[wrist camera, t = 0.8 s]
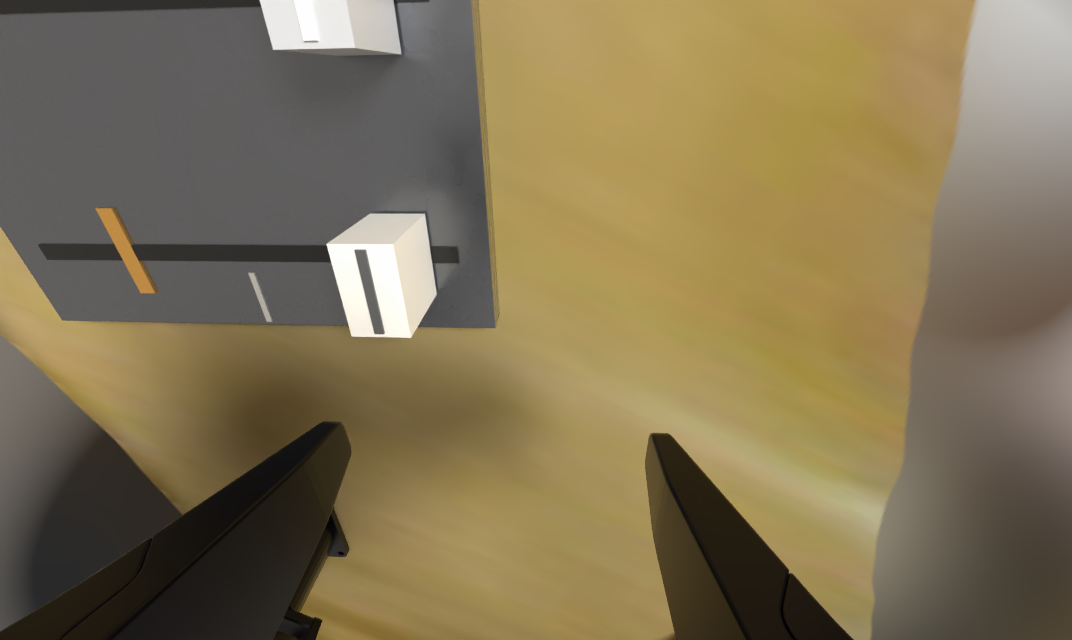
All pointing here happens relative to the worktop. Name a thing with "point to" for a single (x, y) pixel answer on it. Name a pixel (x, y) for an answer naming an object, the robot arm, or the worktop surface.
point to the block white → (333, 26)
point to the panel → (235, 159)
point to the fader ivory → (384, 274)
